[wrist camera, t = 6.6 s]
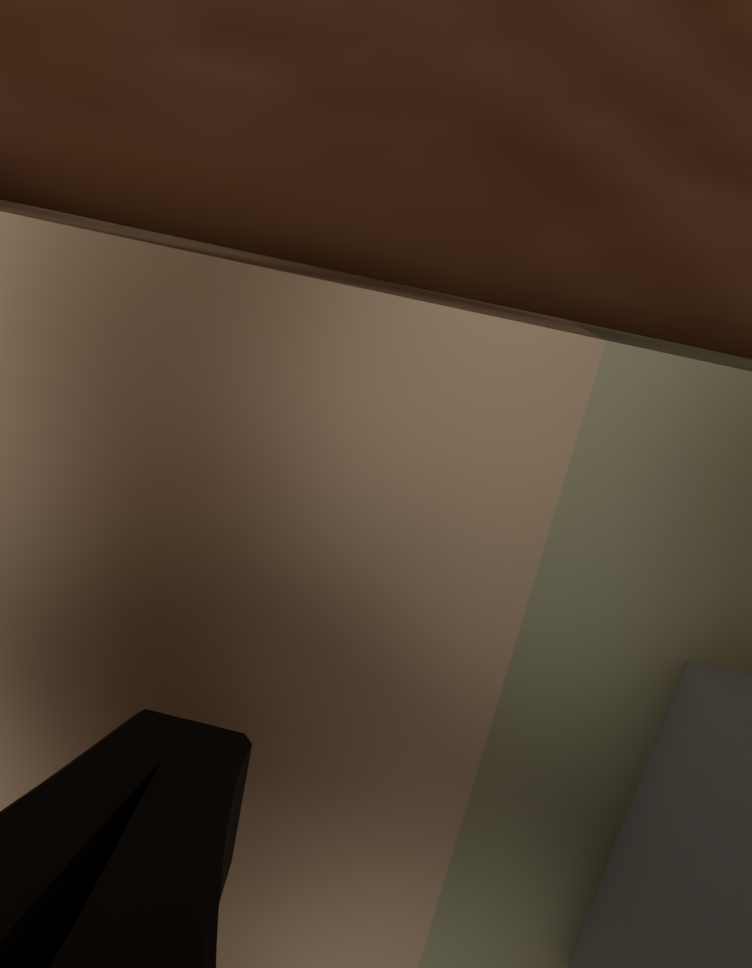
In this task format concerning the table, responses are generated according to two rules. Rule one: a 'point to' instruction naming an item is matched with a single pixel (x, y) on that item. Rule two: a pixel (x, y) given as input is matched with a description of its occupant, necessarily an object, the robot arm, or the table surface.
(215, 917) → the robot arm
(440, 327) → the trap deck
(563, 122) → the table surface
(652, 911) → the block
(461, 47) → the table surface
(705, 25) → the table surface
